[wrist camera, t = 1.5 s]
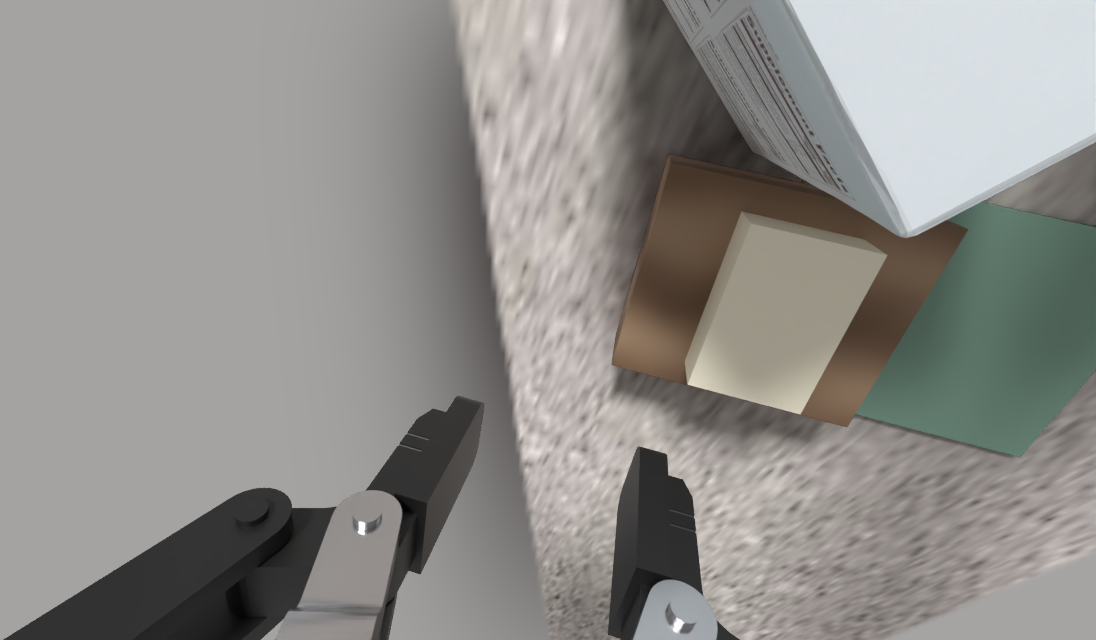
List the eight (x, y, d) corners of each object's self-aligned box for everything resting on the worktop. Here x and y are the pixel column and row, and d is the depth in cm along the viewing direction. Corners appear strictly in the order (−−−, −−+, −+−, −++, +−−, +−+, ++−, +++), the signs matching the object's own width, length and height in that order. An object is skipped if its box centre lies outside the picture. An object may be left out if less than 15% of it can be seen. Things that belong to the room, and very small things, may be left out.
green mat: (944, 194, 25) (948, 195, 25) (1190, 247, 24) (1198, 250, 24) (825, 403, 31) (827, 406, 31) (1015, 453, 30) (1020, 457, 30)
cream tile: (741, 211, 24) (750, 223, 21) (865, 239, 23) (887, 255, 21) (684, 361, 28) (687, 384, 25) (788, 388, 27) (800, 414, 25)
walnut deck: (668, 153, 27) (671, 162, 23) (924, 210, 26) (968, 229, 22) (615, 335, 32) (611, 365, 29) (824, 389, 31) (847, 427, 27)
